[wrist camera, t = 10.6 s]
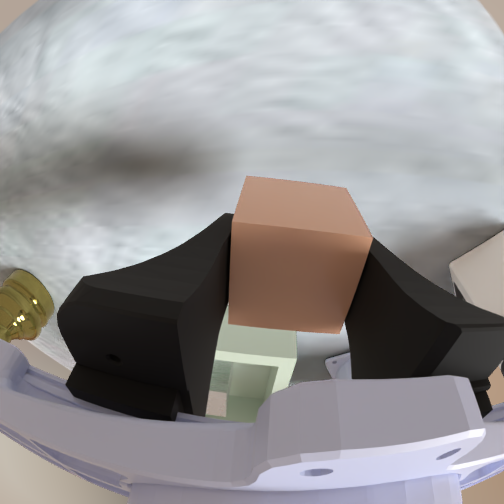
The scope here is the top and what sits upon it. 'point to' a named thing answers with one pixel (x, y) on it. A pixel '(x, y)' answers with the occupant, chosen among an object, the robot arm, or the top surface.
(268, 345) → the tote
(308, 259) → the terracotta box
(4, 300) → the brass calibration weight
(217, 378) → the steel block
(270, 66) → the top surface
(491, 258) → the container
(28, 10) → the top surface
